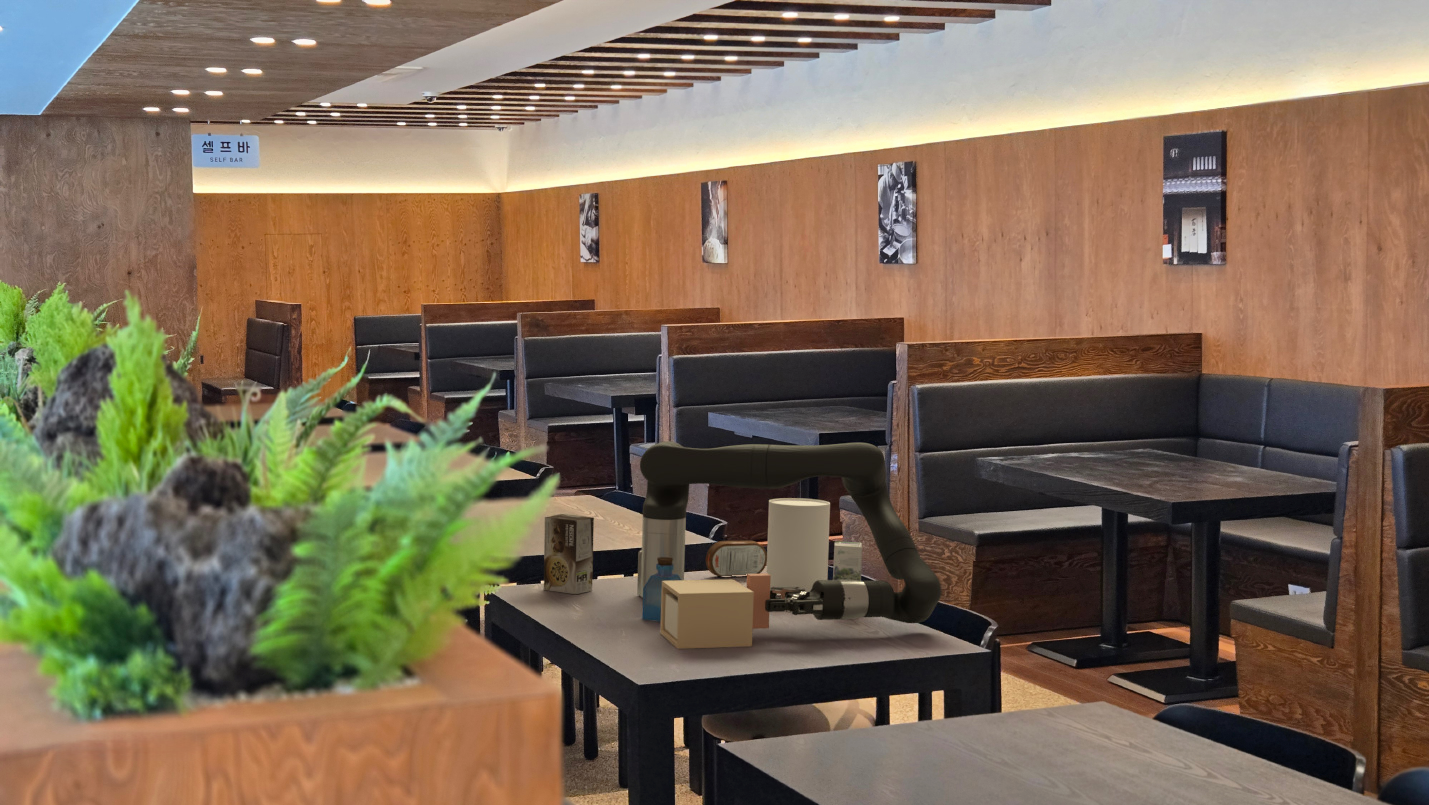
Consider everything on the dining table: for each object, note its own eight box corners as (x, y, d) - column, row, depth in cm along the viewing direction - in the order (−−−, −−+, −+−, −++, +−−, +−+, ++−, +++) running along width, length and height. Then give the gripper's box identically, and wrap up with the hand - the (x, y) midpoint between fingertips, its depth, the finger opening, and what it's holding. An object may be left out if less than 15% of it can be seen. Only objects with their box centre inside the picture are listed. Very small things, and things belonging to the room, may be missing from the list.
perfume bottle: (684, 617, 285) (685, 557, 284) (670, 622, 279) (672, 562, 279) (656, 614, 288) (658, 554, 287) (642, 619, 282) (643, 559, 281)
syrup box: (859, 610, 298) (862, 541, 297) (859, 616, 292) (862, 545, 291) (832, 609, 298) (834, 540, 297) (831, 614, 292) (834, 544, 292)
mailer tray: (678, 641, 258) (680, 581, 258) (664, 628, 268) (666, 571, 268) (775, 638, 263) (777, 579, 263) (758, 626, 273) (760, 569, 273)
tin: (762, 574, 339) (763, 539, 338) (768, 576, 336) (769, 541, 335) (704, 577, 332) (705, 541, 332) (709, 579, 330) (711, 543, 329)
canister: (819, 599, 309) (823, 507, 308) (759, 594, 313) (762, 503, 312) (832, 588, 322) (835, 500, 321) (774, 584, 326) (777, 496, 325)
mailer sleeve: (677, 648, 257) (679, 593, 256) (660, 633, 269) (661, 580, 269) (751, 646, 261) (753, 592, 260) (731, 631, 273) (733, 579, 273)
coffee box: (593, 591, 310) (595, 517, 309) (575, 595, 305) (577, 520, 304) (560, 585, 315) (562, 513, 314) (541, 589, 310) (543, 515, 309)
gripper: (827, 573, 279) (748, 574, 274) (854, 586, 265) (771, 588, 261) (825, 611, 279) (746, 613, 275) (852, 626, 265) (769, 629, 261)
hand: (758, 601), depth 268 cm, fingers open, 8 cm apart
